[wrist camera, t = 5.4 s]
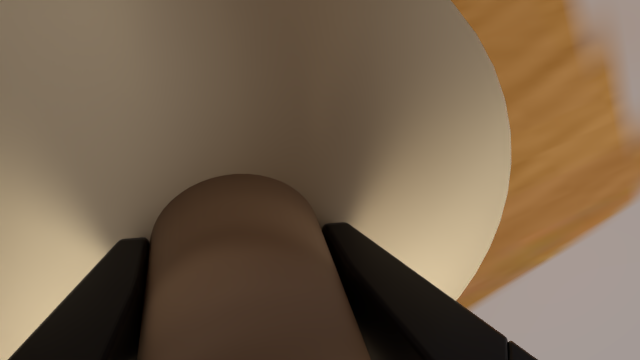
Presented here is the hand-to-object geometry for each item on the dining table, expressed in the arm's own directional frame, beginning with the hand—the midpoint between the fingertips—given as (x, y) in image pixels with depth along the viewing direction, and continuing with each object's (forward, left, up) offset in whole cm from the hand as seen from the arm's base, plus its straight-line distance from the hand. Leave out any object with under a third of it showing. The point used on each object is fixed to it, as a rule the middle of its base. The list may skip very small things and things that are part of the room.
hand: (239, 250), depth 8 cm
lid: (0, 0, -1) cm, 1 cm away
